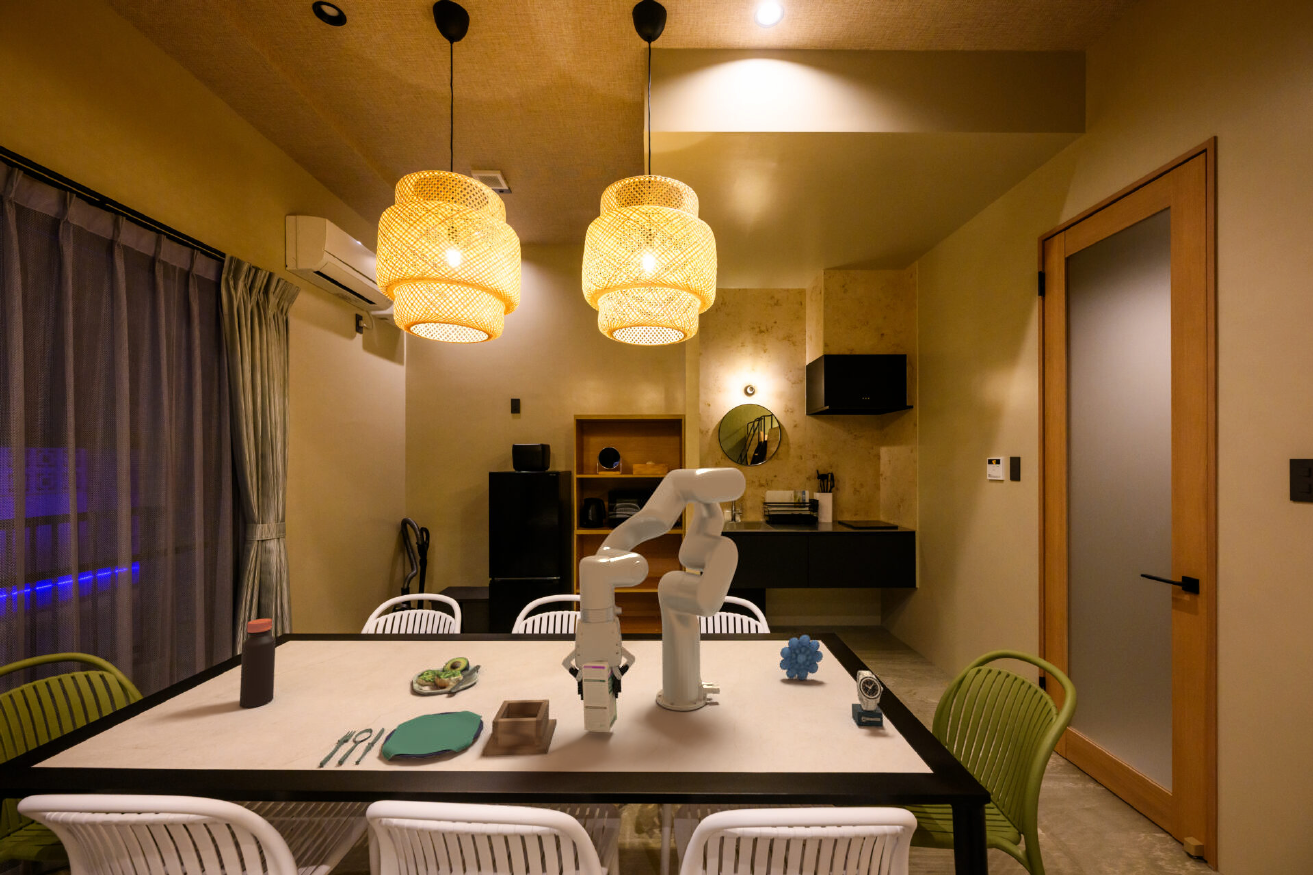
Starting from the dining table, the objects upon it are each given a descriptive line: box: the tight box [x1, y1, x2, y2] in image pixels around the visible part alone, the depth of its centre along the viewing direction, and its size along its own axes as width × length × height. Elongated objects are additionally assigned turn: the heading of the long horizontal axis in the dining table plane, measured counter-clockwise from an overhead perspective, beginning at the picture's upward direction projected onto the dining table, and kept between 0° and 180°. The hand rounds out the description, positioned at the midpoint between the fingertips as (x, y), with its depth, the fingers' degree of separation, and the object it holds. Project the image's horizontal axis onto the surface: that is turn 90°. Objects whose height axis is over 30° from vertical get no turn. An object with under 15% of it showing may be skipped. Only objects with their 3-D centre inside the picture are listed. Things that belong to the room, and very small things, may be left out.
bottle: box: [239, 618, 276, 709], centre depth 133 cm, size 7×7×20 cm
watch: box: [851, 670, 884, 728], centre depth 121 cm, size 6×8×11 cm
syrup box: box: [582, 661, 618, 733], centre depth 116 cm, size 6×6×14 cm
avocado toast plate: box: [412, 656, 482, 696], centre depth 144 cm, size 19×18×5 cm
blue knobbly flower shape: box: [779, 634, 824, 681], centre depth 146 cm, size 12×7×12 cm, turn 84°
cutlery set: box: [319, 710, 484, 768], centre depth 113 cm, size 20×30×2 cm, turn 99°
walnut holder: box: [481, 698, 557, 757], centre depth 114 cm, size 13×13×6 cm
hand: (599, 695), depth 116 cm, fingers closed on syrup box, 6 cm apart
